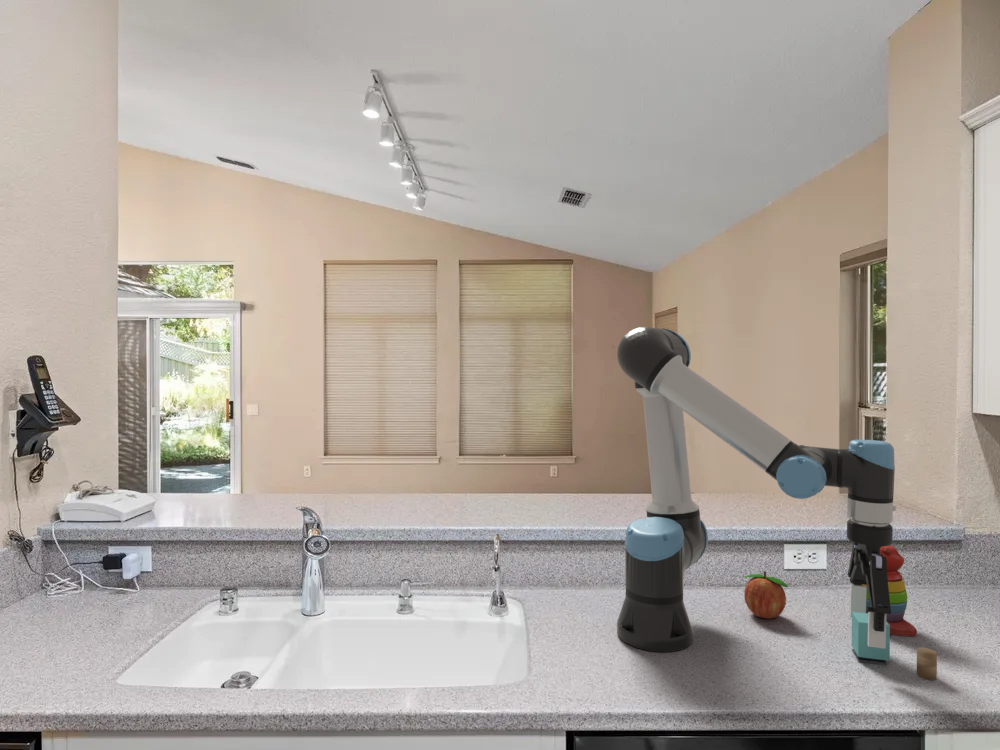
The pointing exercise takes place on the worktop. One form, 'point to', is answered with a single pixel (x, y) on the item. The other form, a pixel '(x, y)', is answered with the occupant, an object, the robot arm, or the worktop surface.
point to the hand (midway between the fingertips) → (866, 631)
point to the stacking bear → (895, 594)
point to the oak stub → (927, 663)
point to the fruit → (765, 595)
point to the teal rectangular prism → (862, 638)
